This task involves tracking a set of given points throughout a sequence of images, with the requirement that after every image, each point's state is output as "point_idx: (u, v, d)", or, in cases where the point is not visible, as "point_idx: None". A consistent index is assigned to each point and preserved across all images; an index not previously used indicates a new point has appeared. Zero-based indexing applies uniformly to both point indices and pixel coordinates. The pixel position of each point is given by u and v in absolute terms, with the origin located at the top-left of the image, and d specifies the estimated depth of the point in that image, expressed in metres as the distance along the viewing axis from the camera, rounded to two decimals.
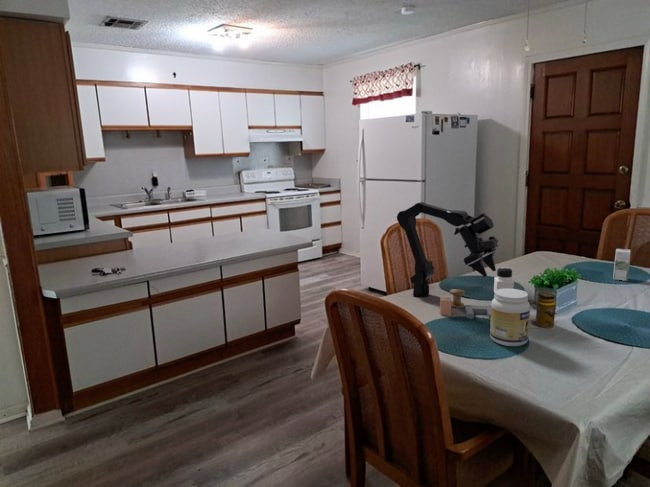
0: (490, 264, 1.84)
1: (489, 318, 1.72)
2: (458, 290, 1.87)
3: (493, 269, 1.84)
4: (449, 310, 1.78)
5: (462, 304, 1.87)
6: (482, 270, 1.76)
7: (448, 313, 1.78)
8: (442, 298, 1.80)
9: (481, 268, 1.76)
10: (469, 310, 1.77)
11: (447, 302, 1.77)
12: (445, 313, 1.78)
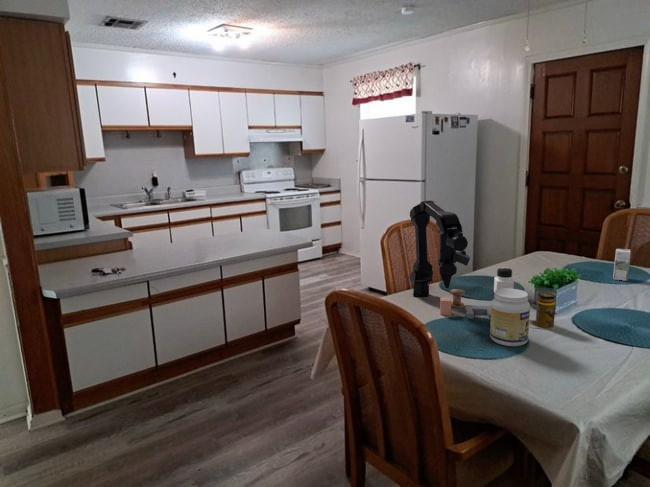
0: None
1: (489, 318, 1.72)
2: (458, 290, 1.87)
3: None
4: (449, 310, 1.78)
5: (462, 304, 1.87)
6: (448, 282, 1.72)
7: (448, 313, 1.78)
8: (442, 298, 1.80)
9: (448, 280, 1.72)
10: (469, 310, 1.77)
11: (447, 302, 1.77)
12: (445, 313, 1.78)
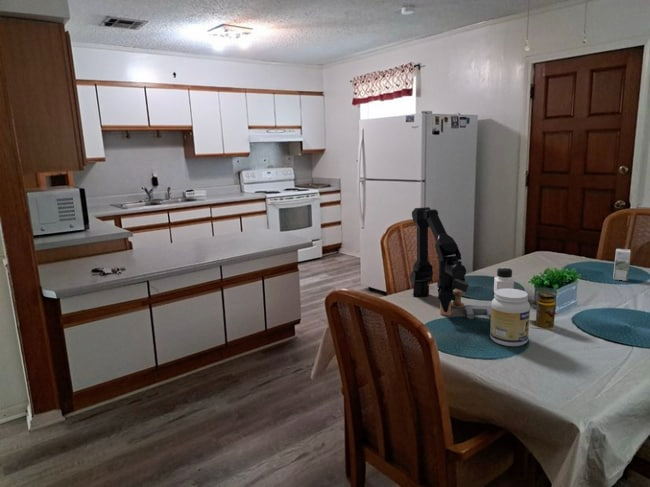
0: None
1: (489, 318, 1.72)
2: (458, 290, 1.87)
3: None
4: (449, 310, 1.78)
5: (462, 304, 1.87)
6: (447, 306, 1.76)
7: (448, 313, 1.78)
8: None
9: (447, 304, 1.76)
10: (469, 310, 1.77)
11: None
12: (445, 313, 1.78)
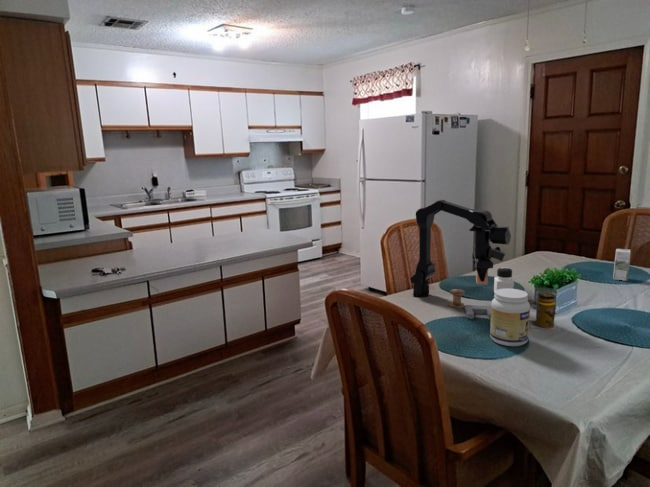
0: None
1: (489, 318, 1.72)
2: (458, 290, 1.87)
3: None
4: (486, 279, 1.81)
5: (462, 304, 1.87)
6: (483, 275, 1.79)
7: (485, 282, 1.81)
8: None
9: (484, 273, 1.79)
10: (469, 310, 1.77)
11: None
12: (482, 282, 1.81)
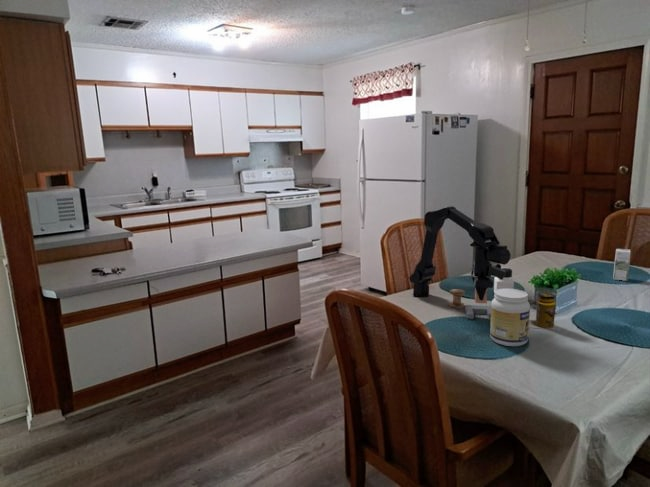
0: None
1: (489, 318, 1.72)
2: (458, 290, 1.87)
3: None
4: (485, 298, 1.72)
5: (462, 304, 1.87)
6: (482, 294, 1.71)
7: (484, 301, 1.72)
8: None
9: (483, 292, 1.70)
10: (469, 310, 1.77)
11: None
12: (481, 301, 1.72)
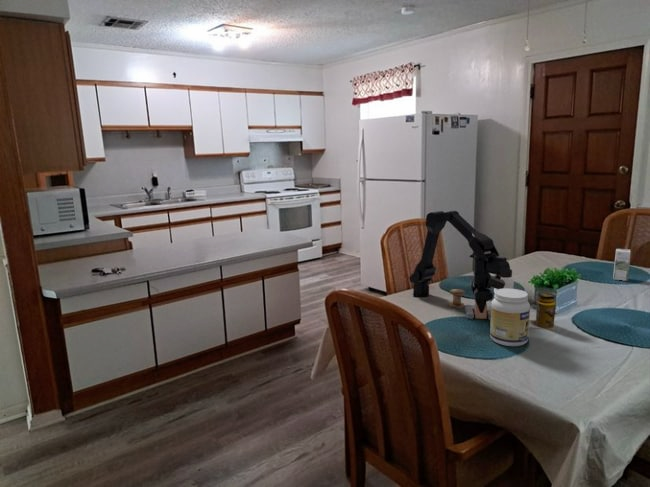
0: None
1: (489, 318, 1.72)
2: (458, 290, 1.87)
3: None
4: (484, 313, 1.73)
5: (462, 304, 1.87)
6: (483, 307, 1.70)
7: (483, 316, 1.73)
8: None
9: (483, 305, 1.69)
10: (469, 310, 1.77)
11: None
12: (480, 316, 1.74)
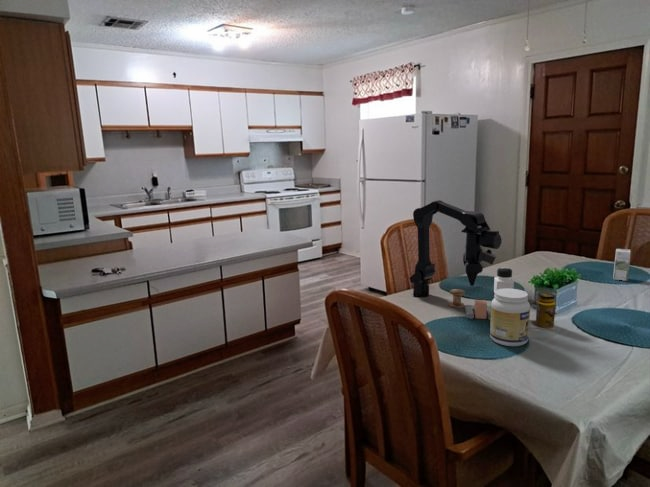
0: None
1: (489, 318, 1.72)
2: (458, 290, 1.87)
3: None
4: (484, 313, 1.73)
5: (462, 304, 1.87)
6: (473, 280, 1.76)
7: (483, 316, 1.73)
8: (477, 301, 1.75)
9: (474, 278, 1.75)
10: (469, 310, 1.77)
11: (482, 305, 1.73)
12: (480, 316, 1.74)
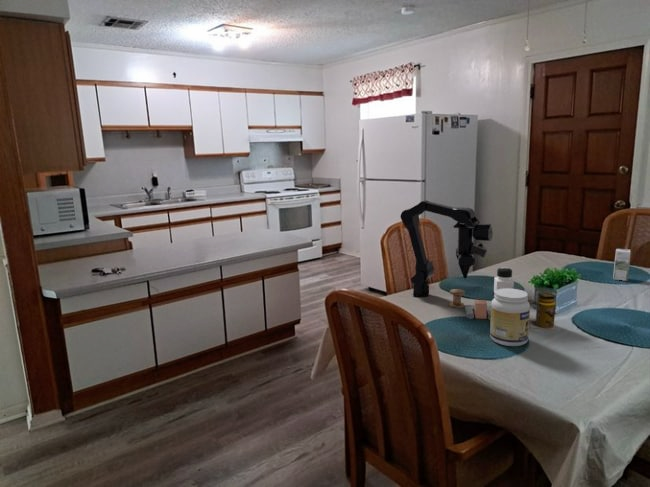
0: None
1: (489, 318, 1.72)
2: (458, 290, 1.87)
3: None
4: (484, 313, 1.73)
5: (462, 304, 1.87)
6: (466, 272, 1.83)
7: (483, 316, 1.73)
8: (477, 301, 1.75)
9: (467, 270, 1.83)
10: (469, 310, 1.77)
11: (482, 305, 1.73)
12: (480, 316, 1.74)
